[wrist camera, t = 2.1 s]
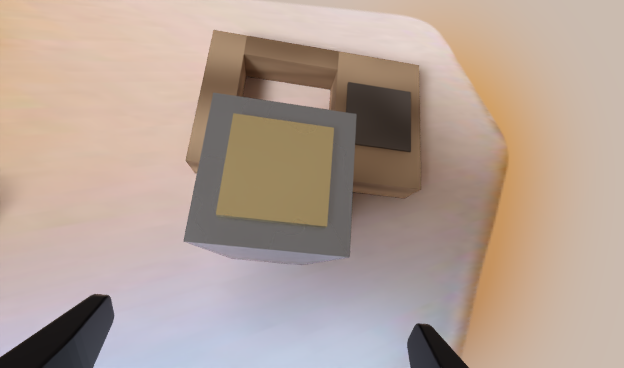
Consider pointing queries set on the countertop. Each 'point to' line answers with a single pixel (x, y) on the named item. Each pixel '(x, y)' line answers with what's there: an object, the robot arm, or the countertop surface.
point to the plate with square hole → (344, 98)
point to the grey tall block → (274, 182)
